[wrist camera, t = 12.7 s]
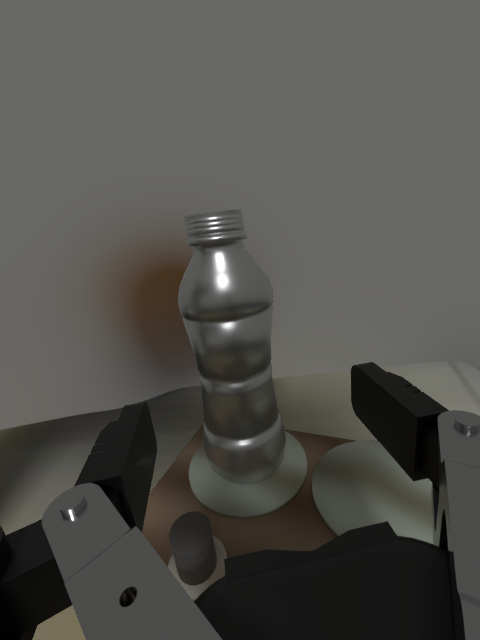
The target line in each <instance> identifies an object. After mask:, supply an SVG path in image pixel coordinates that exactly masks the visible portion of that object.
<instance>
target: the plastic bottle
mask: <svg viewBox="0 0 480 640" xmlns="http://www.w3.org/2000/svg"><path fill="white" fill-rule="evenodd" d="M185 226H186V231H187V237H188V239H186V240H187V245H188V246H192V247H193V257H192V259H191V261H190V263H189V265H188V267H187V269H186V271H185V274H184V276H183V279H182V282H181V284H180V287H179V296H178V305H179V309H180V313H181V315H182V316H183V318H182V319H183V322H184V325H185V328H186V331H187V334H188V337H189V340H190V342H191V345H192V348H193V351H194V356H195V360H196V365H197V369H198V371H199V378H200V382H201V386H202V397H203V409H204V424H203V445H204V451H205V454H206V456H207V459H208V461H209V464H210V466H211V468H212V469H213V471H214V472H215V473H216V474H218V475H219V476H220V477H222V478H223V479H225V480H227V481H229V482H231V483H235V484H243V485H244V484H253V483H257V482H260V481H262V480H264V479H266V478H268V477H269V476H270V475H271V474H273V473H274V472H275V470H276V469H277V468H278V467H279V465H280V464H281V462H282V460H283V458H284V452H285V443H286V435H285V430H284V426H283V422H282V418H281V415H280V412H279V410H278V407H277V401H276V396H275V391H274V385H273V380H272V370H271V369H272V367H271V362H270V361H271V340H270V339H271V325H272V323H271V322H272V308H273V307H272V303H273V289H272V286H271V284H270V281H269V278H268V276H267V274H266V273H265V272H264V271H263V269H262V268H261V267H260V265H259V264H258V263H257V262H256V261H255V260H254V258H253V257H252V256H251V255H250V254H249V253H248V252H247V251H246V250H245V249H244V246H243V241H242V240H243V239H246V238H247V236H246V232H244V225H243V218H242V213H241V210H227V211H219V212H210V213H203V214H196V215H191V216H186V217H185Z"/></svg>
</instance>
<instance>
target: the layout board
mask: <svg viewBox="0 0 480 640" xmlns="http://www.w3.org/2000/svg"><path fill="white" fill-rule="evenodd" d="M285 435H286V443H285V452H284V458H283V460H282V462H281V464H280V465H279V467H278V468H277V469H276V470H275V472H274V473H273V474H271V475H270V476H269V477H268V478H266V479H264V480H262V481H260V482H257V483H253V484H244V485H243V484H235V483H231V482H229V481H227V480H225V479H223V478H222V477H220V476H219V475H218V474H216V473H215V472H214V471H213V469H212V468H211V466H210V464H209V461H208V459H207V456H206V454H205V451H204V445H203V425H202V427H201V428H200V429H199V431H198V432H197V433H196V434H195V436H194V437H193V438H192V440H191V441H190V442H189V443H188V445H187V446H186V447H185V449H184V450H183V451H182V453H181V454H180V455H179V456H178V458H177V459H176V460H175V462H174V463H173V464H172V465H171V467H170V468H169V469H168V471H167V472H166V473H165V475H164V476H163V477H162V478H161V480H160V481H159V482H158V484H157V485H156V486H155V487H154V489H153V490H152V491H151V493H150V494H149V498H148V503H147V509H146V514H145V520H144V525H143V530H142V534H143V535H144V536H145V538H146V539H147V540H148V542H149V543H150V544H151V546H152V547H153V548H154V550H155V551H156V552H157V554H158V555H159V556H160V558H161V559H162V560H163V562H164V563H165V564H166V566H167V567H168V568H169V569H170V571H171V572H172V573H173V575H174V576H175V577H176V579H177V580H178V581H179V583H180V584H181V585H182V587H183V588H184V589H185V591H186V592H187V593H188V595H189V596H190V597H191V599H192V600H193V601H195V600H196V599H197V598H198V596H199V595H200V594H201V593H202V592H203V591H205V590H206V589H207V588H208V587H209V586H210V585H212V584H213V583H214V582H216V581H217V580H218V579H220V578H222V577H224V576H225V564H224V559H227V558H231V557H235V556H240V555H244V554H248V553H253V552H257V551H261V550H265V549H268V550H292V551H313V550H315V549H317V548H319V547H321V546H322V545H324V544H326V543H328V542H329V541H331V540H333V539H334V538H336V537H338V536H340V535H341V534H343V533H345V532H347V531H348V530H352V529H356V528H360V527H364V526H369V525H373V524H377V523H382V522H386V521H388V523H389V524H390V526H391V527H392V529H393V530H394V532H395V533H396V535H397V536H404V537H410V538H415V539H418V540H422V541H425V542H428V543H431V544H433V524H432V498H431V489H432V482H431V481H430V480H429V479H428V478H427V479H423V480H418V481H414V482H413V481H412V479H411V478H410V477H409V476H408V475H407V474H406V472H405V471H404V470H403V469H402V468H401V467H400V465H399V464H398V463H397V462H396V461H395V460H394V459H393V457H392V456H391V455H390V454H389V453H388V452H387V450H386V449H385V448H384V447H383V446H382V445H381V443H380V442H378V441H354V440H348V439H341V438H335V437H328V436H322V435H316V434H309V433H303V432H296V431H290V430H285Z"/></svg>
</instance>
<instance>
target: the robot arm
mask: <svg viewBox="0 0 480 640" xmlns="http://www.w3.org/2000/svg"><path fill="white" fill-rule="evenodd" d="M351 402H352V406H353V410H354V412H355V414H356V415H357V417H358V418H359V419H360V420H361V421H362V423H363V424H364V425H365V426H366V427H367V428H368V430H369V431H370V432H371V433H372V434H373V435H374V436H375V438H376V439H377V440H378V441H379V442H380V443H381V445H382V446H383V447H384V448H385V449H386V450H387V452H388V453H389V454H390V455H391V456H392V457H393V459H394V460H395V461H396V462H397V463H398V464H399V465H400V467H401V468H402V469H403V470H404V471H405V472H406V474H407V475H408V476H409V477H410V478H411V479H412V481H413V482H414V481H418V480H423V479H427V478H428V479H429V480H430V481H431V482H432V489H431V498H432V524H433V544H431V543H428V542H425V541H422V540H418V539H415V538H410V537H404V536H397V535H396V533H395V532H394V530H393V529H392V527H391V526H390V524H389V523H388V521H386V522H382V523H377V524H373V525H369V526H364V527H360V528H356V529H352V530H348V531H347V532H345V533H343V534H341V535H340V536H338V537H336V538H334V539H333V540H331V541H329V542H328V543H326V544H324V545H322V546H321V547H319V548H317V549H315V550H313V551H292V550H268V549H265V550H261V551H257V552H253V553H248V554H244V555H240V556H235V557H231V558H227V559H224V564H225V576H224V577H222V578H220V579H218V580H217V581H216V582H214V583H213V584H212V585H210V586H209V587H208V588H207V589H206V590H205V591H203V592H202V593H201V594H200V595H199V596H198V598H197V599H196V600H195V601H193V600H192V599H191V597H190V596H189V595H188V593H187V592H186V591H185V589H184V588H183V587H182V585H181V584H180V583H179V581H178V580H177V579H176V577H175V576H174V575H173V573H172V572H171V571H170V569H169V568H168V567H167V566H166V564H165V563H164V562H163V560H162V559H161V558H160V556H159V555H158V554H157V552H156V551H155V550H154V548H153V547H152V546H151V544H150V543H149V542H148V540H147V539H146V538H145V536H144V535H143V534H142V530H143V525H144V520H145V514H146V509H147V503H148V498H149V492H150V487H151V481H152V476H153V471H154V465H155V460H156V454H157V443H156V437H155V432H154V428H153V424H152V420H151V416H150V412H149V408H148V405H147V403H146V402H143V403H137V404H131V405H126V406H124V408H123V410H122V412H121V415H120V417H119V420H118V421H114V422H110V423H109V424H108V425H107V426H106V427H105V428H104V429H103V430H102V431H101V432H100V434H99V436H98V438H97V440H96V442H95V445H94V446H93V449H92V451H91V455H89V457H88V459H87V461H86V463H85V465H84V467H83V469H82V471H81V473H80V475H79V478H78V480H77V482H76V484H75V486H74V487H72V488H70V489H68V490H67V491H65V492H63V493H62V494H60V495H59V496H58V497H57V498H56V499H55V500H53V501H52V502H51V504H50V505H49V506H48V507H47V509H46V510H45V512H44V514H43V517H42V519H41V520H39V521H37V522H35V523H33V524H31V525H28V526H26V527H24V528H22V529H19V530H17V531H15V532H13V533H10V534H8V535H5V533H4V531H3V529H2V527H1V526H0V640H32V639H33V636H34V633H35V630H36V628H37V625H38V624H40V623H42V622H43V621H45V620H47V619H49V618H50V617H52V616H54V615H56V614H57V613H59V612H61V611H63V610H64V609H66V608H68V607H70V606H71V605H73V607H74V610H75V612H76V615H77V617H78V620H79V623H80V625H81V628H82V630H83V633H84V635H85V638H86V640H480V416H479V415H476V414H473V413H470V412H465V411H455V410H454V411H449V410H447V409H446V408H445V407H443V406H442V405H440V404H439V403H438V402H436V401H435V400H433V399H432V398H431V397H429V396H428V395H426V394H425V393H424V392H421V390H419V389H418V388H417V387H415V386H412V384H411V383H410V382H408V381H407V380H405V379H404V378H403V377H400V376H398V375H395V374H393V373H390V372H385V371H384V370H383V369H381V368H380V367H379V366H377V365H376V364H375V363H373V362H370V363H364V364H359V365H354V366H352V369H351Z"/></svg>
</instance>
